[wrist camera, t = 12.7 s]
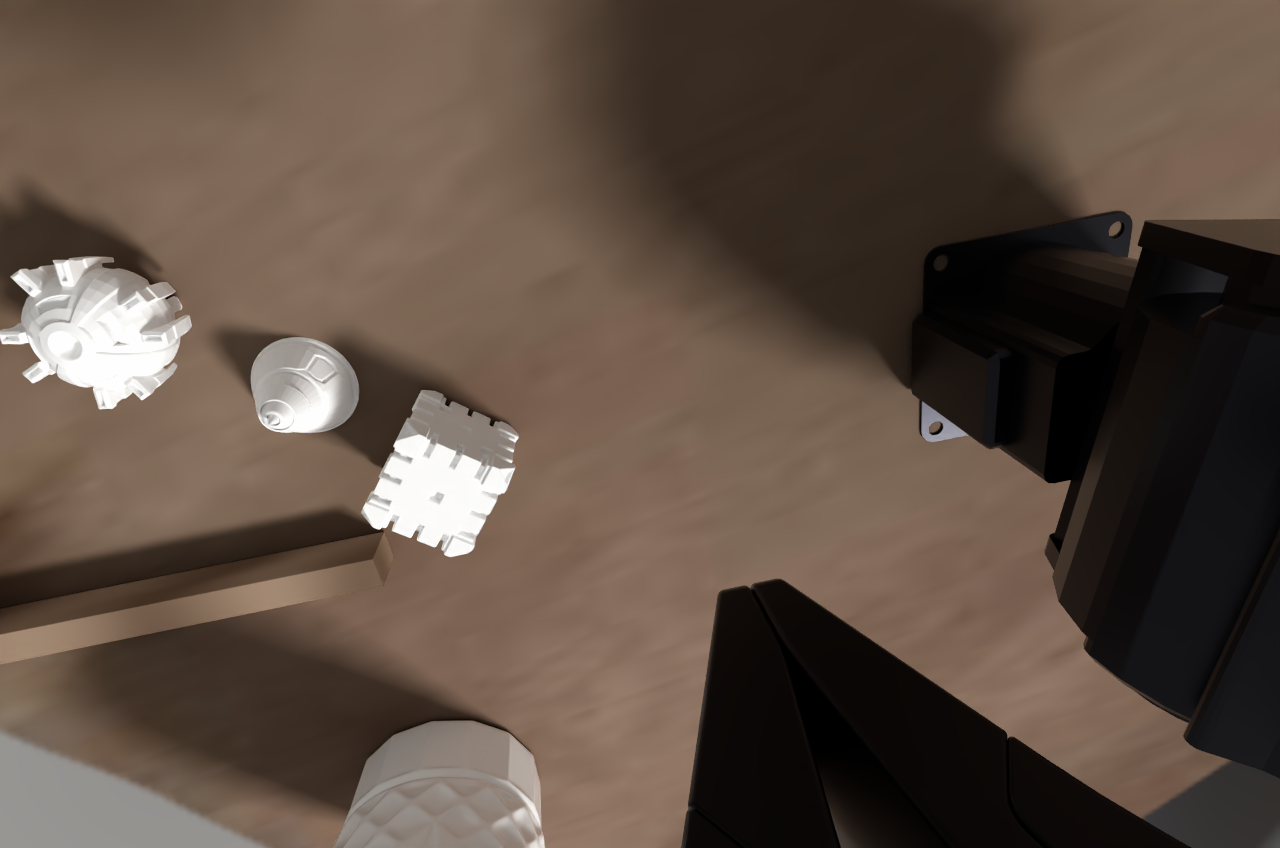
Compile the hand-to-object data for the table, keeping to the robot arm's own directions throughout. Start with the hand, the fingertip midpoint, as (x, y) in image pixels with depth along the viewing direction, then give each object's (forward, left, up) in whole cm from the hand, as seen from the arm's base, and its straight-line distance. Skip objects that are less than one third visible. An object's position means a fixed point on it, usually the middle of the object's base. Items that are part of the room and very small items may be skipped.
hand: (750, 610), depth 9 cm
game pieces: (+10, -1, -12) cm, 16 cm away
